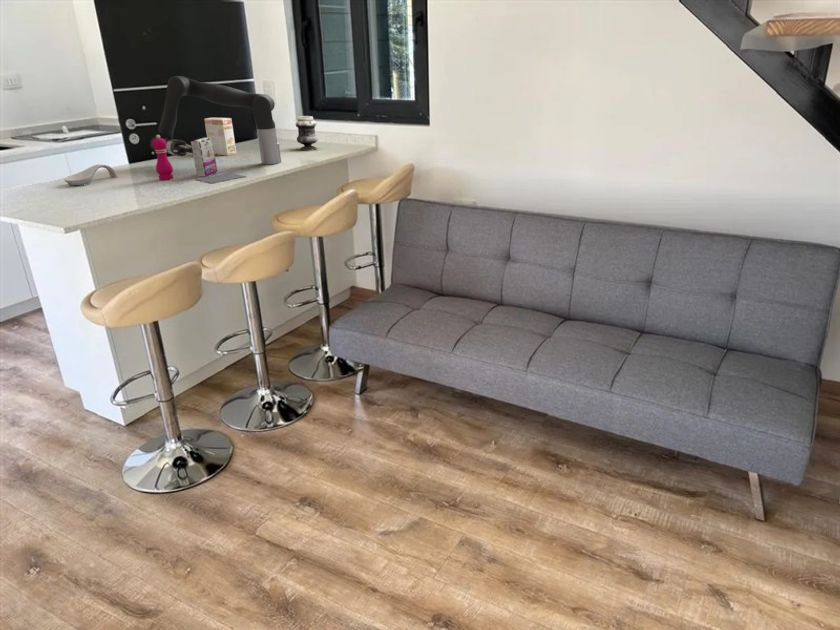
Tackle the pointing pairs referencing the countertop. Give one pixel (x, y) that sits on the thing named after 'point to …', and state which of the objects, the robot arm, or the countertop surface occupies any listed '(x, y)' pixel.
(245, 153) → the countertop surface
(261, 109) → the robot arm
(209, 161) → the candy bar box
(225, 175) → the rubber mat
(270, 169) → the countertop surface
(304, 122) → the apothecary jar
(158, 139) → the pepper mill
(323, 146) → the countertop surface
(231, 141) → the coffeecake box
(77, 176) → the spoon rest
